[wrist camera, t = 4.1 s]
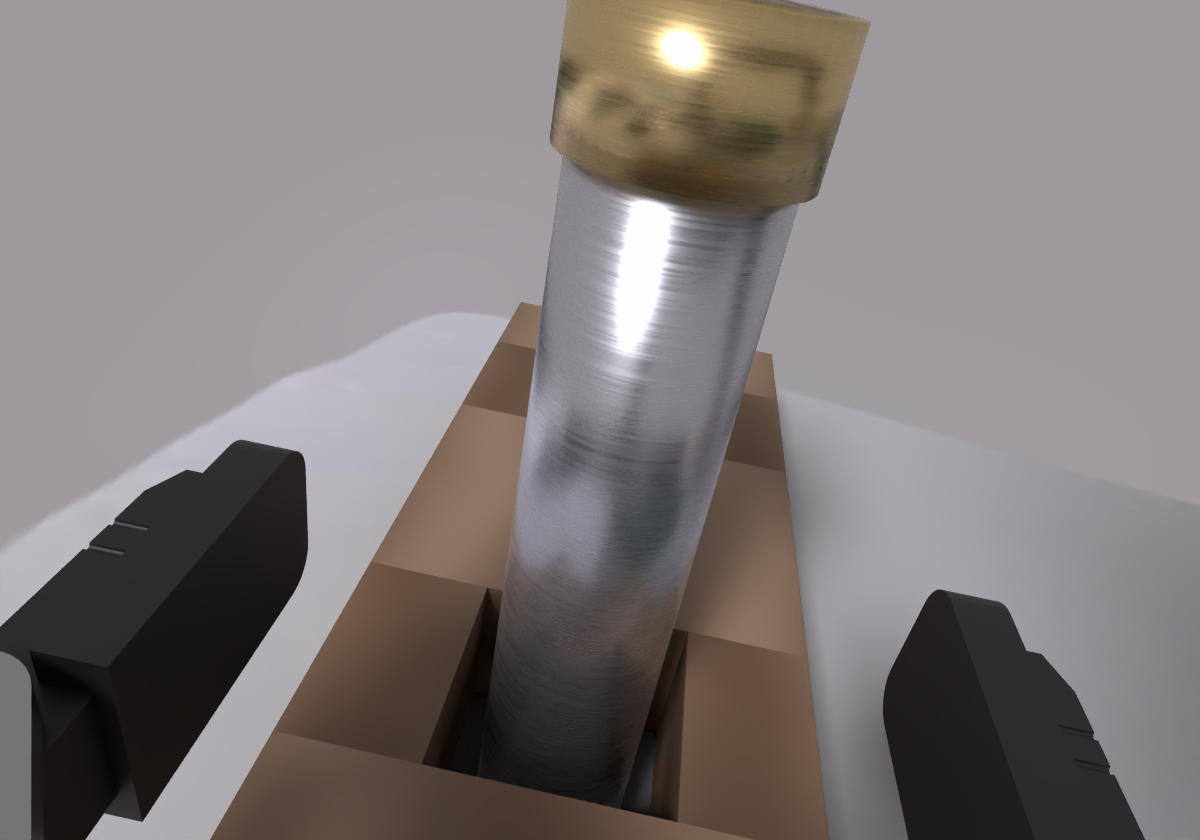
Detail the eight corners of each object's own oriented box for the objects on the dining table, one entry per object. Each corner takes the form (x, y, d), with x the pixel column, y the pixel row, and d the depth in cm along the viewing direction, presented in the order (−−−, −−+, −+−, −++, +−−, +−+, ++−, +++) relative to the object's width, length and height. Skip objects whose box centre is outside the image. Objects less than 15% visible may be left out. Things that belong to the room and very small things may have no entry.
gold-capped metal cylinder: (634, 745, 19) (848, 11, 11) (617, 895, 16) (896, 35, 8) (489, 712, 19) (594, -39, 11) (444, 855, 16) (544, -35, 8)
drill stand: (748, 429, 33) (771, 354, 31) (788, 1211, 13) (861, 1123, 11) (511, 379, 33) (520, 302, 32) (172, 1063, 13) (144, 953, 11)
